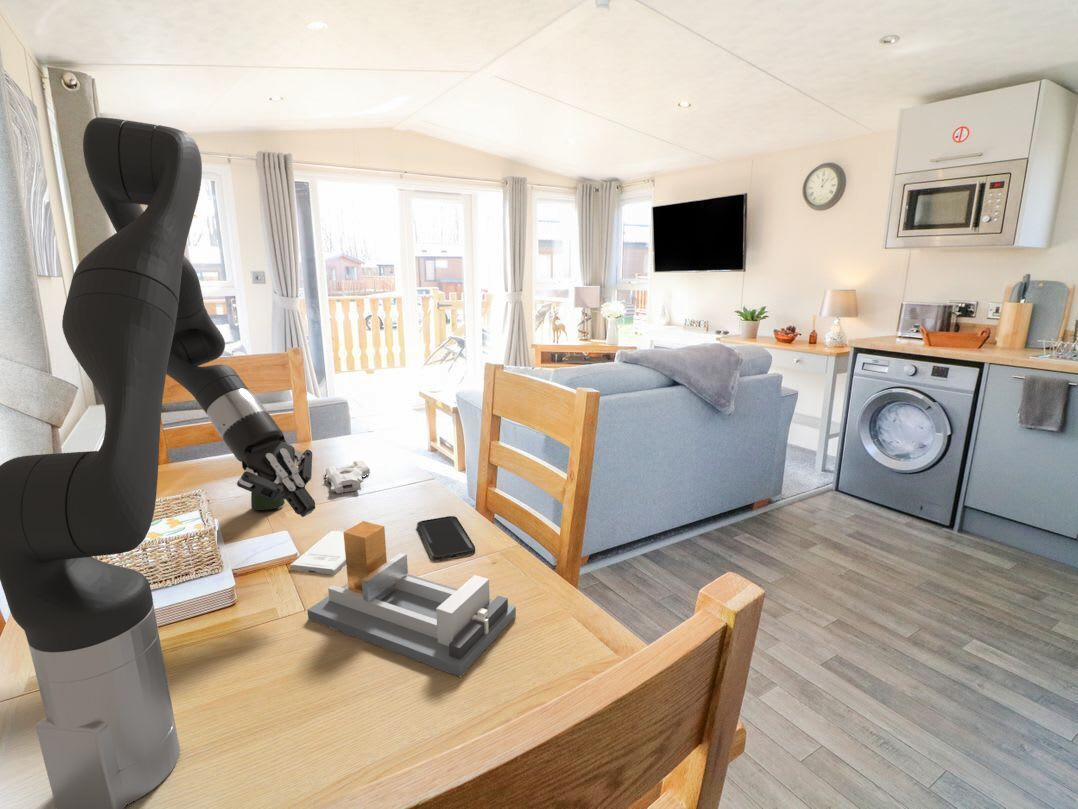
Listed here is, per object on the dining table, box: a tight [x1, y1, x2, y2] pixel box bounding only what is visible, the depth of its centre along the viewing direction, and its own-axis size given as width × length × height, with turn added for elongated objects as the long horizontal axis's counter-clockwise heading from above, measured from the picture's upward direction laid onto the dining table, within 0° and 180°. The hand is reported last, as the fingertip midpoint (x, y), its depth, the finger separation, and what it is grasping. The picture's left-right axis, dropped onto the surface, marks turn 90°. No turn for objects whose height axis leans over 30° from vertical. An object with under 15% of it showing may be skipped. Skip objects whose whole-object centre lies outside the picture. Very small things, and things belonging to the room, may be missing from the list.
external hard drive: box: [289, 530, 346, 576], centre depth 99 cm, size 2×8×12 cm
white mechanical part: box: [325, 460, 371, 494], centre depth 132 cm, size 18×3×10 cm
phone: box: [416, 515, 476, 562], centre depth 105 cm, size 8×1×15 cm
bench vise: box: [307, 573, 517, 677], centre depth 81 cm, size 26×14×6 cm, turn 63°
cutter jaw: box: [341, 520, 409, 602], centre depth 83 cm, size 7×8×10 cm
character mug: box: [243, 469, 286, 511], centre depth 116 cm, size 11×7×13 cm, turn 32°
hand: (309, 512), depth 87 cm, fingers closed
